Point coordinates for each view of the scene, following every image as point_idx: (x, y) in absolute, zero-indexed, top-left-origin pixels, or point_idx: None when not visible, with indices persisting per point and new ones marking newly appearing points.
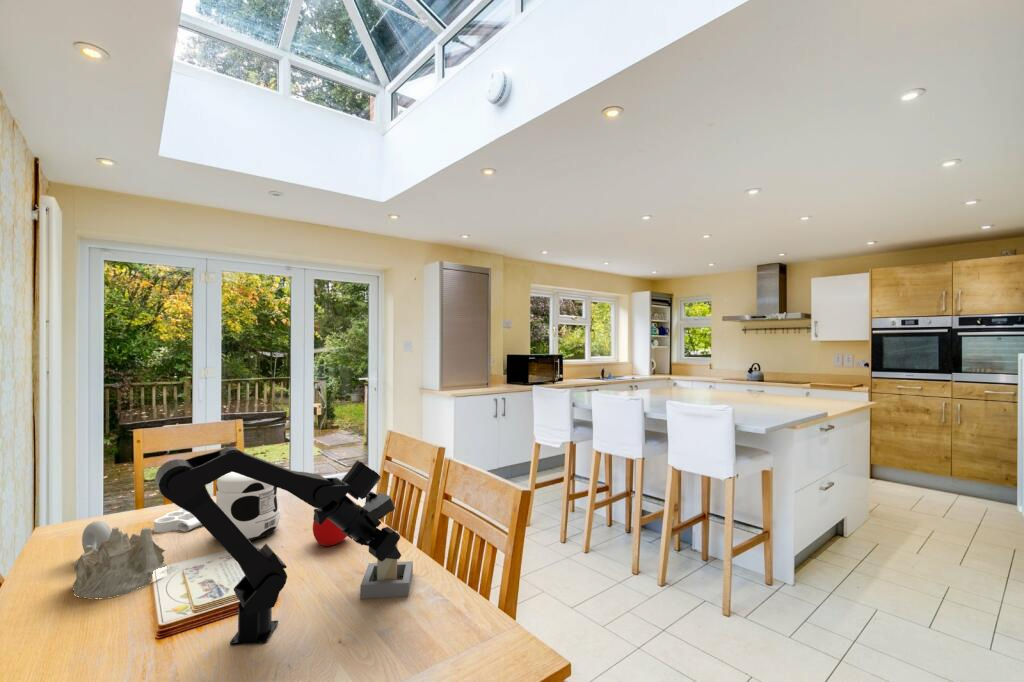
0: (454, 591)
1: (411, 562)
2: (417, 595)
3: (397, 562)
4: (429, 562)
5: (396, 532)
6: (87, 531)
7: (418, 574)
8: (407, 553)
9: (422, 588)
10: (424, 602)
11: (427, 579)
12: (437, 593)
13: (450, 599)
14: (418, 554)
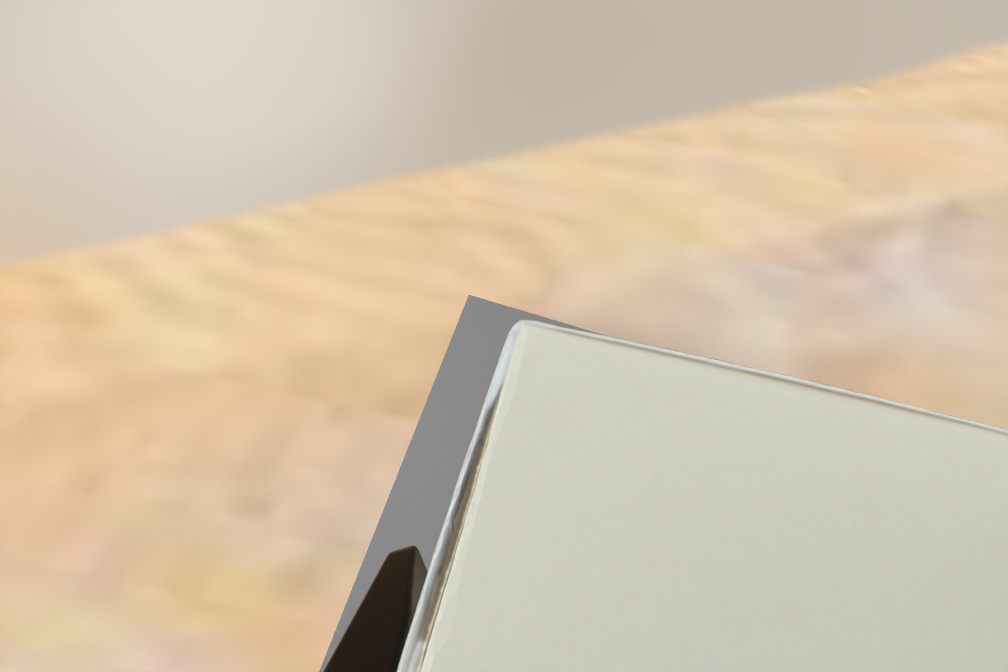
0: (847, 146)
1: (488, 310)
2: (834, 378)
3: (428, 431)
4: (367, 188)
5: (623, 364)
6: None
7: (513, 299)
8: (129, 297)
9: (739, 321)
10: (952, 356)
11: (617, 259)
12: (844, 246)
13: (948, 192)
14: (198, 228)
